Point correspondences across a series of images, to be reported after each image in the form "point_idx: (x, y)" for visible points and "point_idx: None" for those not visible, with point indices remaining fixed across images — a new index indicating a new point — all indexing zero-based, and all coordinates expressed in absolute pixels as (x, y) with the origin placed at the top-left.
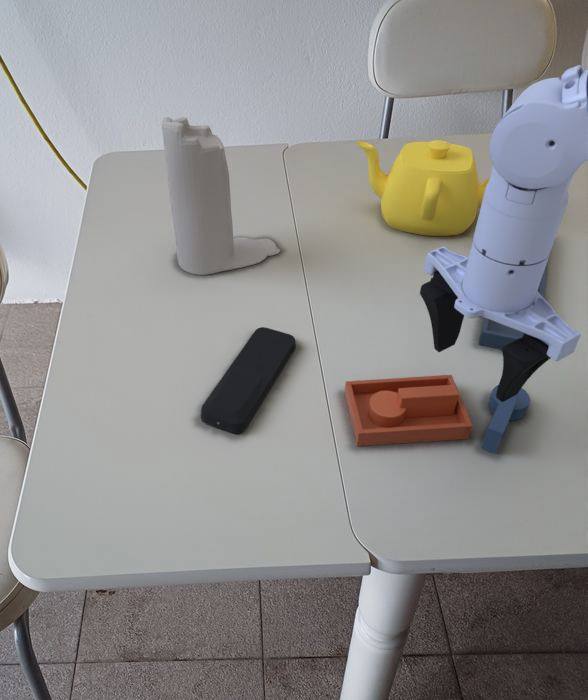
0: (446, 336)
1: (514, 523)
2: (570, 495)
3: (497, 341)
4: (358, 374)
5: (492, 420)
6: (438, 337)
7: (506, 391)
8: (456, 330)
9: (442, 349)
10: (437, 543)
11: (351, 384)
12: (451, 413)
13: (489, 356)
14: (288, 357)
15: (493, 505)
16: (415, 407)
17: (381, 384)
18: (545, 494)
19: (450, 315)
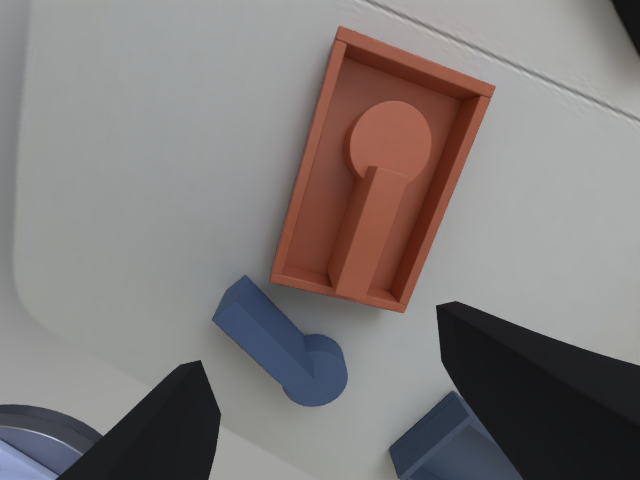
0: (472, 359)
1: (77, 238)
2: (115, 350)
3: (439, 422)
4: (500, 154)
5: (251, 319)
6: (481, 331)
7: (133, 408)
8: (478, 403)
9: (440, 320)
10: (56, 74)
11: (480, 95)
12: (328, 266)
13: (421, 392)
14: (629, 13)
15: (121, 226)
16: (356, 199)
17: (448, 167)
18: (125, 317)
19: (566, 455)
